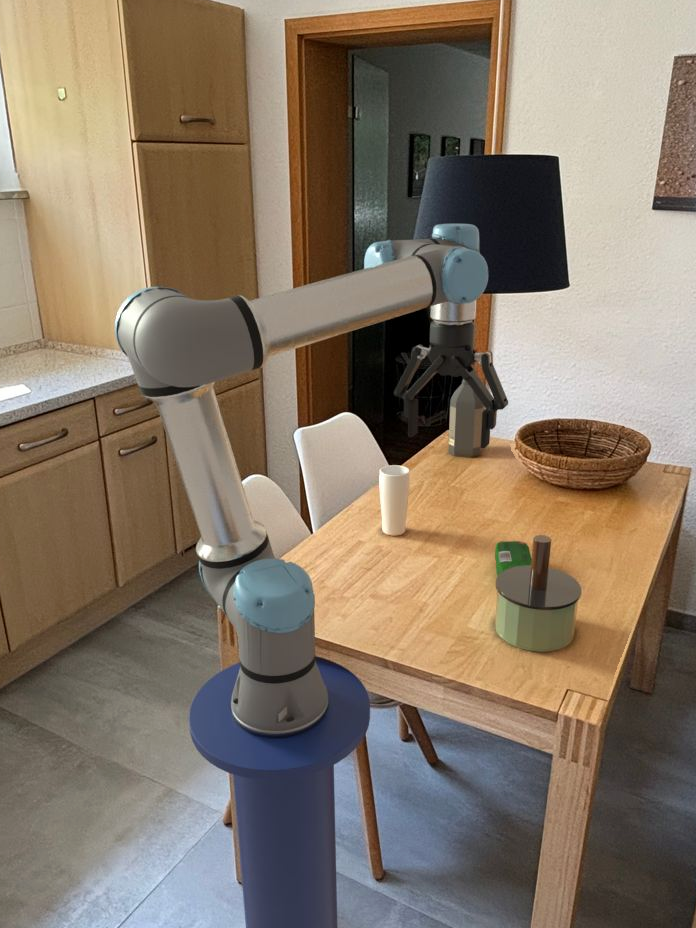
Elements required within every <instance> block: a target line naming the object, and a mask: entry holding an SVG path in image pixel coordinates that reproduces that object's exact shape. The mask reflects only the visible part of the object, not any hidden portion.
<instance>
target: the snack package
mask: <svg viewBox="0 0 696 928" xmlns="http://www.w3.org/2000/svg"><path fill="white" fill-rule="evenodd" d="M494 559H495V570H496V578H497V577H498V575H499V574H500V573H501V572H503V571H505V570H507V569H509V568H512V567H517V566H526V565H531V560H532V554H531V551H530V547H529V545H528V543H526V542H524V541H521V540H519V541H518V540H511V541H509V540H508V541H498V542H497V543H496V545H495V548H494Z"/></svg>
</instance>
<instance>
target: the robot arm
mask: <svg viewBox="0 0 696 928" xmlns="http://www.w3.org/2000/svg"><path fill="white" fill-rule="evenodd" d="M363 260H364V261H363V268H362V269H359V270H354V271H352V272H347V273H344V274H341V275H337V276H333V277H330V278H325V279H323V280H319V281H315V282H312V283H309V284H304V285H301V286H298V287H294V288H290V289H287V290H283V291H279V292H275V293H272V294H269V295H265V296H261V297H258V298H254V299H251V300H250V299H248V298H247V297H245V296H243V295H241V294H239V295H236V296H230V297H228V298H223V299H215V300H214V299H212V300H201V299H194V298H192V297H189V296H188V295H186V294H184V293H183V292H181V291H179V290H178V289H175V288H173V287H169V286H168V287H167V286H148V287H145V288H141V289H139V290H137V291H135V292H134V293H132V294H130V295H129V296H128V297H127V298H126V299H125V300H124V301H123V302H122V304H121V305H120V307H119V309H118V311H117V312H116V317H115V322H114V333H115V339H116V342H117V345H118V347H119V349H120V350H121V351H122V353H123V354H124V355H125V356H126V357H127V358H128V360H129V363H130V366H131V369H132V372H133V376H134V377H135V381H136V383H137V386H138V389H139V391H140V395H141V396H142V398H145V399H147V400H149V401H152V402H153V403H155V406H156V409H157V411H158V414H159V417H160V420H161V423H162V425H163V428H164V431H165V435H166V437H167V440H168V443H169V446H170V449H171V452H172V456H173V458H174V460H175V461H174V462H175V464H176V467H177V470H178V473H179V475H180V478H181V481H182V485H183V487H184V491H185V492H186V496H187V499H188V502H189V505H190V507H191V510H192V513H193V516H194V520H195V523H196V525H197V528H198V531H199V533H200V538H199V540H198V541H197V543H196V545H195V546H196V547H195V552H196V555H197V558H198V571H199V576H200V580H201V583H202V585H203V587H204V589H205V590H206V592H207V593H208V595H209V596H210V597H212V599H213V600H214V601H215V602H216V604H217V605H218V607H219V608H220V610H221V611H222V612H223V614H224V615H225V616H226V618H227V620H229V622H230V624H231V625H232V627H233V628H234V629H235V631H236V636H237V645H238V656H239V662H240V670H239V673H238V676H237V680H236V682H235V686H234V690H233V693H232V699H231V709H232V716H233V719H234V720H235V722H236V723H237V724H238V726H239V727H241V728H242V729H243V730H245V731H247V732H248V733H251V734H253V735H256V736H260V737H266V738H285V737H291V736H295V735H299V734H301V733H304V732H306V731H308V730H310V729H312V728H313V727H315V726H316V725H317V724H318V723H320V721H321V720H322V719H323V718H324V717H325V715H326V713H327V710H328V692H327V688H326V685H325V683H324V681H323V679H322V677H321V674H320V671H319V669H318V666H317V664H316V660H315V656H316V626H315V625H316V624H315V622H316V621H315V619H316V618H315V607H316V605H315V604H316V597H315V596H316V595H315V593H314V587H313V581H312V579H311V576H310V574H308V572H307V571H306V570H305V569H304V568H303V567H302V566H301V565H298V564H297V563H295V562H293V561H288V562H286V560H284V559H282V558H276V557H275V555H274V551H273V547H272V545H271V542H270V538H269V535H268V532H267V531H268V530H267V529H266V526H265V525H264V524H263V523H262V522H259V521H258V520H255V519H254V518H253V515H252V511H251V507H250V505H249V504H250V503H249V501H248V498H247V494H246V491H245V488H244V483H243V481H242V478H241V474H240V470H239V468H238V465H237V461H236V458H235V454H234V452H233V448H232V444H231V441H230V439H229V434H228V432H227V428H226V424H225V422H224V419H223V415H222V412H221V409H220V405H219V401H218V399H217V396H216V392H215V391H216V390H215V388H214V385H215V383H217V382H220V381H224V380H227V379H229V378H234V377H236V376H240V375H242V374H246V373H248V372H252V371H255V370H257V369H261V368H263V367H264V365H265V364H266V362H267V360H268V358H270V357H273V356H277V355H280V354H282V353H286V352H290V351H293V350H296V349H298V348H302V347H305V346H308V345H312V344H315V343H317V342H321V341H324V340H328V339H330V338H335V337H337V336H341V335H344V334H347V333H350V332H352V331H356V330H359V329H362V328H366V327H369V326H373V325H375V324H378V323H382V322H385V321H388V320H391V319H395V318H397V317H401V316H404V315H407V314H410V313H414V312H416V311H420V310H423V309H426V308H430V315H429V317H430V318H431V319H432V321H431V322H430V325H429V347H425V346H424V345H423V344H418V345H416V346H414V347H412V349H411V354H410V360H409V361H408V364H407V365H406V367H405V369H404V372H403V374H402V375H401V377H400V379H399V382H398V383H397V385H396V387H395V389H394V391H393V395H394V396H395V397H397V398H398V397H399V398H401V399H402V400H403V417H404V418H405V419H407V421H408V422H407V437H408V438H414V437H415V436H416V435H418V431H419V430H418V429H419V398H414V397H416V395H418V393H420V391H421V390H422V389H423V388H424V387H425V386H426V385H427V383H428V382H429V381H430V380H431V379H432V378H433V377H434V376H436V374H437V373H438V374H439V375H440V376H443V377H444V376H450V377H453V378H454V377H455V378H459V377H460V376H461V378H462V380H463V379H464V380H465V381H467V382H468V384H469V385H470V387H471V388H472V389H473V391H474V392H475V394H476V395H477V396H478V398H479V399H480V401H481V402H482V403H483V405H484V406H485V408H484V411H483V412H482V429H481V446H480V448H482V449H486V448H487V447H488V446H489V445H490V441H491V439H490V438H491V430H493V429H495V428H496V426H497V415H498V411H499V410H500V411H501V410H504V409H505V408H506V407H507V406H508V405H509V399H508V397H507V395H506V393H505V390H504V388H503V385H502V383H501V380H500V378H499V376H498V373H497V371H496V368H495V365H494V360H493V359H494V358H493V352H492V351H491V350H487V351H485V352H477V353H476V352H475V350H474V349H475V339H476V338H475V337H476V323H475V322H474V320H475V319H476V314H477V300H478V299H479V298H480V297H481V296H482V295H483V293H484V292H485V290H486V288H487V285H488V282H489V267H488V266H489V265H488V263H487V261H486V259H485V257H484V256H483V255H482V254H481V251H480V231H479V228H478V227H477V226H476V225H474V224H470V223H440V224H435V225H434V226H433V229H432V233H431V237H429V238H422V239H421V238H420V239H397V240H396V239H394V240H391V239H387V240H383V241H376V242H373V243H372V244H370V245H369V246H368V247H367V249H366V251H365V254H364V259H363ZM426 357H427V358H428V360H429V361H430V363H431V365H430V366H429V367H428V368H427V369H426V370H425V371H424V372H423V374H422V375H421V376H420V377H419V378H418V379H417V380H416V381H415V382H414V383H413V385H412V386H411V387H410V388H409V389H408V387H409V386H410V383H411V382H412V379H413V377H414V375H415V373H416V372H417V370H418V368H419V366H420V364H421V362H422V360H423V359H425V358H426ZM475 360H476V362H477V363H478V365H479V366H480V367H481V370H482V373H483V375H484V378H485V380H486V383H487V385H488V387H489V389H488V388H487V386H486V385H485V384H484V382H483V381H482V379H481V378H480V377H479V375H478V374H477V370H476V368H475V369H474V368H473V366H472V365H471V364H472V363H473V362H474V361H475ZM407 389H408V390H407ZM489 390H490V391H489Z"/></svg>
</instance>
